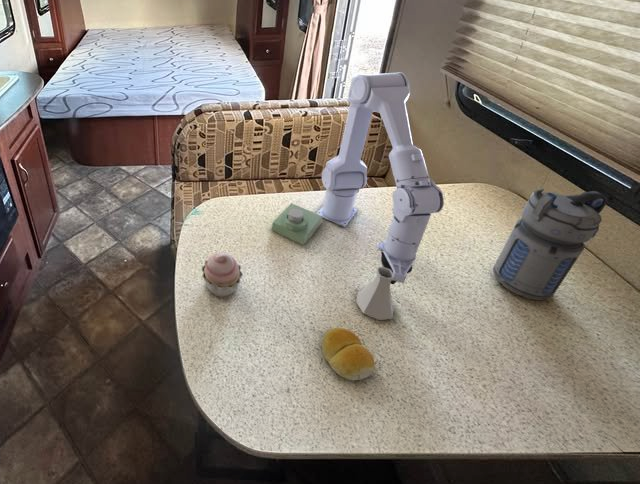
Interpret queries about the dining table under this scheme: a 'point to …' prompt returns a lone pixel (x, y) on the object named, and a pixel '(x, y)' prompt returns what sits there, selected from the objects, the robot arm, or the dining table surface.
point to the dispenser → (297, 225)
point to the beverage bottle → (547, 242)
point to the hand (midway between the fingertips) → (388, 280)
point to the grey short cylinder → (295, 215)
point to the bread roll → (347, 354)
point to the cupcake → (221, 274)
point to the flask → (377, 296)
